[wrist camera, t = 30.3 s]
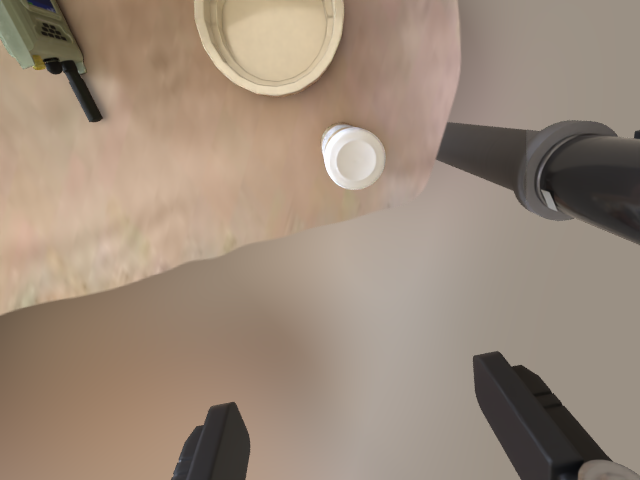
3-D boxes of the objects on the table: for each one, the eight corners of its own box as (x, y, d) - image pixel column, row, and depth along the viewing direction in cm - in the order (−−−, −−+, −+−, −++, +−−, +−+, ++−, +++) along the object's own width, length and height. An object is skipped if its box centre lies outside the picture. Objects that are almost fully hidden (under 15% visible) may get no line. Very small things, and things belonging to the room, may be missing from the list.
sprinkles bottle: (349, 170, 38) (368, 201, 26) (313, 153, 38) (315, 175, 25) (368, 132, 37) (398, 145, 24) (331, 113, 36) (342, 117, 24)
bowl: (323, -69, 30) (326, -101, 26) (349, 81, 35) (355, 77, 30) (191, -34, 31) (170, -59, 26) (233, 109, 36) (222, 109, 31)
